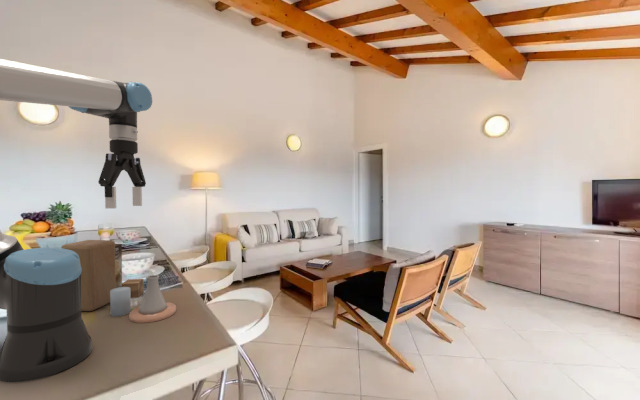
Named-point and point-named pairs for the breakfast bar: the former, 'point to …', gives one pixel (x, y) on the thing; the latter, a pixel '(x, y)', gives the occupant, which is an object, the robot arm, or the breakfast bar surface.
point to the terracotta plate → (146, 318)
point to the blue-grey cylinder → (120, 301)
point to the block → (95, 271)
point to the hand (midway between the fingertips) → (125, 207)
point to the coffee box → (118, 264)
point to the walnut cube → (135, 287)
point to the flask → (152, 297)
